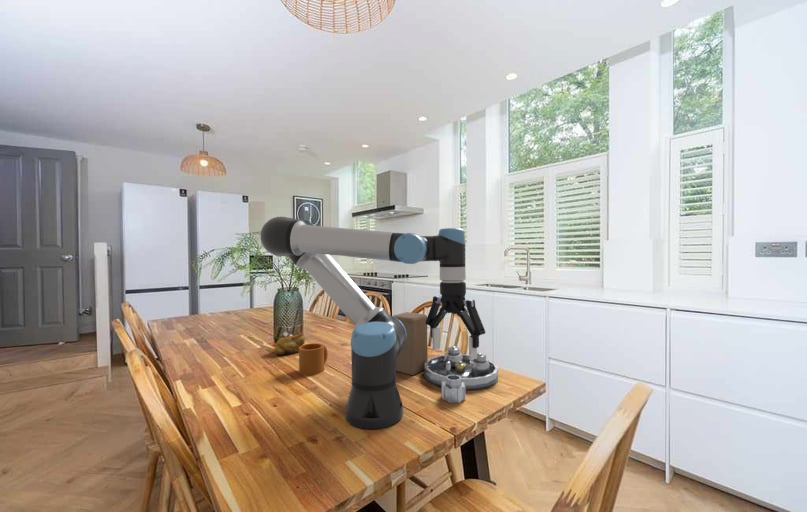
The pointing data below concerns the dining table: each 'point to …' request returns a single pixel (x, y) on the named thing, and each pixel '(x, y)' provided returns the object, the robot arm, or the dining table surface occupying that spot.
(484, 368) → the carrier
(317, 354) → the mug
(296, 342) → the bread roll
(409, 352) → the wooden block
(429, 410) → the dining table surface
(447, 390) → the gear
